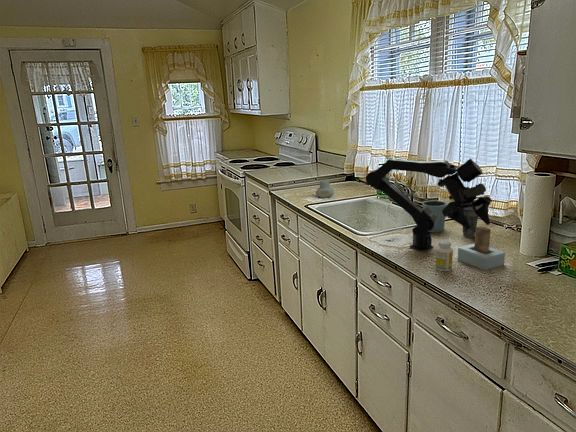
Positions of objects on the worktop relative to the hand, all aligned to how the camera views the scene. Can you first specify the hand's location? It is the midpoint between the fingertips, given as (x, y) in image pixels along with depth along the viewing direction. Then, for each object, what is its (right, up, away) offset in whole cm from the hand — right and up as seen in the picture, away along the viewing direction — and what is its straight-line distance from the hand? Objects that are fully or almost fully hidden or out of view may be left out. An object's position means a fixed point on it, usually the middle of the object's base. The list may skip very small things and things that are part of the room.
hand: (479, 226), depth 147 cm
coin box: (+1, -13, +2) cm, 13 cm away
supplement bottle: (-13, -15, -1) cm, 20 cm away
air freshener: (-44, +15, +114) cm, 123 cm away
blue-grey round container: (-2, -3, +41) cm, 41 cm away
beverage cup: (+9, -5, +31) cm, 32 cm away
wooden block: (+1, -12, +2) cm, 12 cm away
